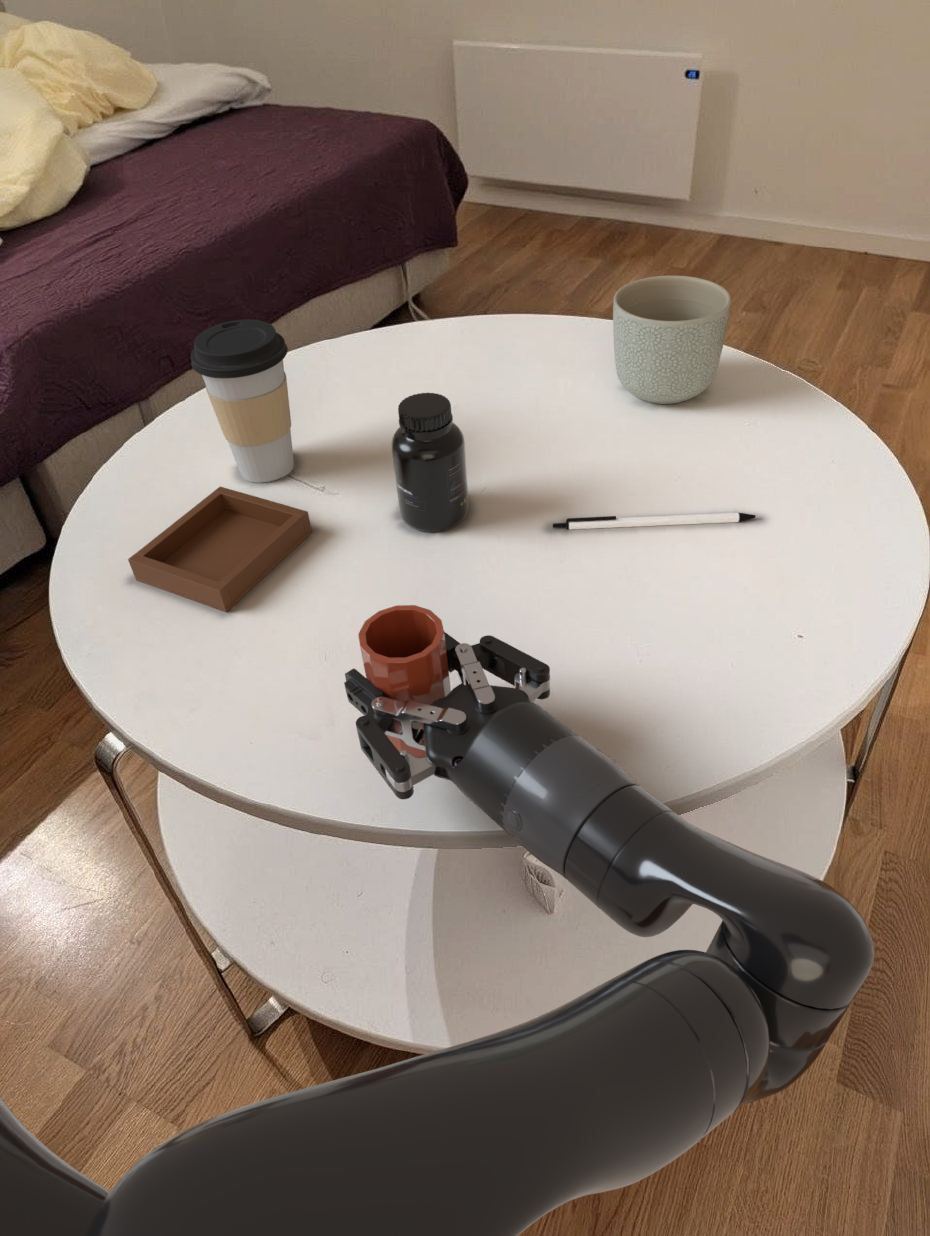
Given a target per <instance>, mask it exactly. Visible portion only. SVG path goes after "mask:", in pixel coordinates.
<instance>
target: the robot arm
mask: <svg viewBox="0 0 930 1236" xmlns="http://www.w3.org/2000/svg"><path fill="white" fill-rule="evenodd" d="M444 634H445V643H446V652H447V661H448V670H449V674H450V673H452V672H454V671H456V673H457V676H458V678H459V681H460V683H459V684H457V685H456V686H455V687H453V688H452V689H451V692H450V693H449V694H448V695H447V696H446V697H443V698H441V699H438V700H436V701H434V702H433V703H431V704H430V705H429V704H425V703H422V702H418V701H414V700H408V701H407V702H406V703H404V702H400V701H397V700H393V699H390V698H386V697H384V694H383V692H382V691H381V690H379V689H378V688H377V687H376V686H374V685H373V684H372V683H371V682H370V681H369V680H368V679H366V676H364V675H363V674H362V673H361V672H360V671H359V670H357V669H356V668H354V667H353V668H352V669H350V670H349V671H347V672H345V673H344V677H345V680H346V681H344V682H343V685H344V689H345V693H346V697H347V700H348V703H350V704H351V705H352V706H353V707H354V708H355V709H357V710H358V711H359V712H360V714H362V716H359V717H358V718H357V719H356V721H355V728H356V731H357V732H356V733H357V736H358V741H359V745H360V750H361V751H362V753H364V755H365V756H366V758H367V759H368V760H369V761H370V763H371V764H372V766H373V768H374V769H375V770H376V771H377V772H378V773H379V775H380V776H381V778H382V779H383V780H384V781H385V783H386V785H387V786H388V788H389V789H390V790H391V791H392V792H393V794H394V795H395V796H396V798H398V799H399V800H408V799H410V798H411V797H412V796H413V795H414V793H415V790H414V786H415V785H417V784H419V783H420V782H423V781H424V780H426V779H428V778H430V777H431V776H435V777H437V778H440V779H444V780H446V781H449V782H452V783H453V785H455V786H456V787H457V789H459V791H460V792H461V793H462V794H463V795H464V796H465V797H466V798H467V799H469V800H470V802H472V803H473V804H474V805H475V806H476V807H477V808H479V809H480V810H481V811H482V812H483V813H484V814H485V815H487V816H488V817H489V818H490V819H491V820H492V821H493V822H495V823H496V824H497V825H498V826H499V827H500V828H501V829H502V830H503V831H505V832H506V833H507V834H508V835H509V836H511V838H513V839H514V840H515V841H516V842H517V843H518V844H520V845H521V847H523V848H524V850H526V851H527V852H528V853H530V854H531V855H532V856H533V857H535V858H536V859H537V860H538V861H539V862H540V863H542V864H544V865H546V866H547V868H549V869H551V870H552V871H554V872H556V873H557V874H559V875H560V876H561V877H563V878H564V879H565V880H566V881H568V882H569V883H570V884H571V885H572V886H573V887H574V888H576V889H577V890H578V891H579V892H580V893H581V894H582V895H583V896H585V897H586V899H588V900H589V901H590V902H591V903H592V904H594V905H595V907H597V908H598V909H600V910H601V912H603V913H604V914H605V915H606V916H608V918H609V919H610V920H612V921H613V922H615V923H616V924H617V925H618V926H619V927H621V928H622V929H623V930H625V931H626V932H628V933H630V934H632V935H634V936H637V937H640V938H651V937H655V936H657V935H658V936H659V935H660V934H662V933H664V932H665V931H667V930H669V928H671V927H672V926H673V925H675V923H676V922H678V921H679V920H680V919H681V918H682V917H683V916H684V915H685V914H686V913H687V911H688V910H689V909H690V908H691V907H692V906H693V905H696V906H698V907H702V908H704V909H707V910H709V911H711V912H713V913H714V914H716V915H717V916H718V917H719V918H720V920H721V922H720V924H719V926H718V928H717V930H716V932H715V934H714V936H713V938H712V940H711V941H710V944H709V946H708V947H707V949H706V951H702V950H697V949H677V950H670V951H668V952H667V951H666V952H663V953H661V954H658V955H656V956H654V957H651V958H649V959H647V960H644V961H643V962H641V963H639V964H637V965H635V966H633V967H631V968H629V969H628V970H626V971H623V972H622V973H620V974H618V975H616V976H613V978H611V979H608V980H607V981H605V982H603V983H602V984H599V985H597V986H595V987H593V988H591V989H590V990H588V991H587V992H585V993H583V994H581V995H579V996H578V997H575V998H574V999H572V1000H570V1001H568V1002H566V1003H564V1004H562V1005H561V1006H558V1007H557V1008H554V1009H552V1010H550V1011H548V1012H546V1013H543V1014H541V1015H539V1016H537V1017H534V1018H532V1019H530V1020H528V1021H525V1022H523V1023H519V1024H516V1025H515V1026H511V1027H509V1028H505V1029H503V1030H500V1031H497V1032H495V1033H491V1034H488V1035H485V1036H482V1037H478V1038H475V1039H472V1040H469V1041H466V1042H463V1043H458V1044H456V1045H452V1046H449V1047H446V1048H441V1049H438V1050H435V1051H431V1052H429V1053H425V1054H422V1055H421V1054H420V1055H417V1056H414V1057H412V1058H411V1057H410V1058H408V1059H404V1060H402V1061H397V1062H395V1063H392V1064H388V1065H385V1066H382V1067H378V1068H375V1069H371V1070H367V1071H364V1072H363V1071H362V1072H360V1073H357V1074H353V1075H349V1076H345V1077H342V1078H341V1077H340V1078H338V1079H334V1080H331V1081H327V1082H323V1083H319V1084H315V1085H312V1086H311V1085H310V1086H307V1087H304V1088H301V1089H297V1090H293V1091H289V1092H286V1093H283V1094H282V1093H281V1094H280V1095H276V1096H273V1097H272V1096H271V1097H269V1098H266V1099H263V1100H260V1101H257V1102H252V1103H250V1104H247V1105H244V1106H241V1107H238V1108H235V1109H232V1110H229V1111H227V1112H224V1113H221V1114H218V1115H215V1116H213V1117H211V1118H208V1119H206V1120H204V1121H201V1122H198V1123H196V1124H193V1125H192V1126H189V1127H188V1128H186V1129H184V1130H182V1131H180V1132H178V1133H175V1134H174V1135H172V1136H170V1137H168V1138H167V1139H165V1140H163V1142H161V1143H160V1144H158V1145H157V1146H155V1147H153V1149H151V1150H149V1151H148V1152H147V1153H145V1154H143V1156H141V1157H140V1158H139V1159H137V1160H136V1161H135V1163H134V1164H132V1166H130V1168H129V1169H128V1170H127V1171H126V1172H125V1173H124V1174H123V1176H122V1177H121V1178H120V1179H119V1180H118V1181H117V1182H116V1183H115V1184H114V1185H113V1186H112V1188H111V1189H110V1190H109V1189H107V1188H106V1187H105V1186H103V1185H101V1184H100V1183H98V1182H96V1181H95V1180H94V1179H92V1178H90V1177H88V1176H87V1175H86V1174H83V1173H82V1172H81V1171H79V1170H77V1169H76V1168H74V1167H73V1166H72V1165H70V1164H69V1163H68V1162H66V1161H65V1160H63V1159H62V1158H61V1157H60V1156H59V1155H57V1154H56V1153H55V1152H53V1151H52V1150H50V1148H48V1147H47V1146H46V1145H45V1144H44V1143H43V1142H41V1141H40V1139H38V1138H37V1137H36V1136H35V1135H34V1134H33V1133H32V1132H31V1131H29V1130H28V1128H27V1127H26V1126H25V1125H24V1124H23V1122H22V1121H20V1119H19V1118H18V1117H17V1116H16V1115H15V1113H14V1112H13V1111H12V1110H11V1109H10V1108H9V1106H8V1105H7V1104H6V1102H5V1101H4V1100H3V1098H2V1097H1V1096H0V1236H520V1235H521V1234H522V1233H524V1231H526V1230H527V1229H528V1228H529V1227H531V1226H532V1225H533V1224H535V1223H536V1222H537V1221H539V1219H541V1218H542V1217H544V1216H545V1215H547V1214H549V1213H550V1212H552V1211H553V1210H555V1209H557V1208H559V1207H560V1206H562V1205H564V1204H567V1203H568V1202H571V1201H573V1200H576V1199H579V1198H582V1197H585V1196H591V1195H595V1194H596V1195H597V1194H601V1193H606V1192H610V1191H614V1190H619V1189H622V1188H625V1187H629V1186H631V1185H633V1184H636V1183H638V1182H640V1181H642V1180H644V1179H646V1178H649V1177H650V1176H652V1175H654V1174H655V1173H657V1172H658V1171H660V1170H662V1169H663V1168H665V1167H666V1166H668V1165H670V1164H671V1163H673V1162H674V1161H675V1160H677V1159H679V1157H681V1156H682V1155H684V1154H686V1152H688V1151H689V1150H690V1149H692V1148H693V1146H695V1145H696V1144H698V1143H699V1142H700V1141H701V1140H703V1139H704V1137H706V1136H707V1135H708V1134H709V1133H711V1132H712V1131H713V1130H714V1129H716V1128H717V1127H718V1126H719V1125H721V1123H723V1122H724V1121H725V1120H727V1119H728V1118H729V1117H730V1116H731V1115H733V1114H734V1113H735V1112H736V1111H737V1110H738V1109H740V1107H742V1105H748V1104H751V1103H755V1102H758V1101H760V1100H763V1099H766V1098H768V1097H771V1096H773V1095H776V1094H778V1093H780V1092H782V1091H784V1090H786V1089H787V1088H789V1087H790V1086H791V1085H793V1084H794V1083H795V1082H796V1081H797V1080H798V1079H800V1077H802V1075H804V1074H805V1072H807V1070H808V1069H809V1068H810V1067H811V1066H812V1065H813V1064H814V1063H815V1061H816V1060H817V1059H818V1057H819V1056H820V1054H821V1053H822V1051H823V1050H824V1049H825V1047H826V1045H827V1043H828V1042H829V1040H830V1038H831V1036H832V1035H833V1033H834V1032H835V1030H836V1028H837V1027H838V1025H839V1023H840V1022H841V1020H842V1019H843V1017H844V1015H845V1014H846V1012H847V1011H848V1009H849V1008H850V1006H851V1004H852V1002H853V1001H854V1000H855V998H856V997H857V995H858V994H859V992H860V990H861V988H862V987H863V985H864V983H865V981H866V980H867V978H868V977H869V975H870V973H871V970H872V967H873V965H874V962H875V944H874V941H873V937H872V933H871V931H870V929H869V927H868V925H867V923H866V922H865V920H864V918H863V917H862V915H861V913H860V911H858V909H856V908H857V907H855V906H854V905H853V904H852V903H851V901H850V900H849V899H848V898H847V896H846V897H845V896H844V895H843V893H841V892H840V891H838V890H837V889H836V888H834V887H833V886H832V885H830V884H828V883H827V882H825V881H823V880H822V879H820V878H818V877H816V876H813V875H811V874H809V873H806V872H804V871H802V870H800V869H797V868H794V867H792V866H789V865H786V864H783V863H781V862H779V861H775V860H773V859H770V858H767V857H765V856H762V855H760V854H757V853H755V852H752V851H750V850H748V849H746V848H743V847H741V846H739V845H736V844H734V843H733V842H730V841H727V840H725V839H723V838H721V837H719V836H717V835H714V834H711V833H710V832H708V831H705V830H703V829H701V828H699V827H697V826H695V825H693V824H691V823H689V822H688V821H687V820H685V819H684V818H683V817H682V816H680V815H679V814H678V813H676V812H675V811H674V810H672V809H671V808H670V807H669V806H667V805H666V804H665V803H663V802H662V801H660V800H659V799H658V798H656V797H655V796H654V795H653V794H651V793H649V791H647V790H646V789H645V788H643V787H641V785H639V784H638V783H637V782H636V781H634V780H633V779H632V778H631V776H629V775H628V774H627V773H626V771H624V770H623V768H622V767H620V766H619V765H618V764H617V763H616V762H615V761H614V760H612V759H611V758H610V757H609V756H607V755H606V754H605V753H603V752H602V751H601V750H600V749H599V748H597V747H595V746H594V745H593V744H591V743H590V742H589V741H587V740H585V738H583V737H581V736H580V735H579V734H577V732H575V731H573V730H572V729H571V728H570V727H568V726H567V725H566V724H564V723H563V722H561V720H559V719H558V718H556V717H554V715H552V714H550V713H549V712H548V711H547V710H546V709H545V708H543V707H541V706H540V705H538V704H537V703H535V702H536V700H545V699H548V698H549V697H550V695H551V668H550V665H548V664H547V663H545V662H543V661H541V660H539V659H537V658H535V657H533V656H531V655H530V654H528V653H526V652H524V651H523V650H520V649H518V648H516V647H514V646H512V645H510V644H509V643H507V642H505V641H503V640H501V639H500V638H497V637H496V636H494V635H489V634H488V635H483V636H481V637H480V639H479V642H478V643H475V644H472V645H471V644H469V643H465V642H462V643H461V642H460V641H458V640H457V639H455V638H454V637H453V636H451V635H450V634H449V633H447V632H445V631H444ZM485 671H486V672H487V673H490V674H492V675H493V676H495V677H497V678H499V679H501V680H502V681H504V682H506V683H507V684H510V685H511V686H514V687H509V686H499V685H491V684H490V683H489V681H488V678H487V675H486V674H485ZM420 722H422V723H423V727H424V730H423V729H422V728H421V725H420ZM386 735H389V736H392V737H396V738H399V739H402V740H403V741H404V742H405V743H406V744H407V745H408V746H411V747H414V748H417V749H421V750H424V751H425V753H426V756H425V757H423V758H417V757H414V756H413V755H412V754H410V753H407V751H406V750H401V751H400V752H399V751H398V750H397V748H396V747H395V746H394V745H393V743H392V742H391V741H390V740H389V738H388V737H387V736H386Z"/></svg>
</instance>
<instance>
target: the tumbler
mask: <svg viewBox="0 0 930 1236" xmlns="http://www.w3.org/2000/svg"><path fill="white" fill-rule="evenodd" d="M444 632H445V629H444V625H443V621H442V619H441V618H440V617H439V616H438V615H436V613H434V612H433V611H432V610H431V609H429V608H425V607H422V606H419V605H417V604H416V605H414V604H404V605H403V604H401V605H400V604H399V605H397V604H396V605H393V606H390V607H387V608H384V609H382V610H379V611H377V612H375V613H374V614H373V615H371V616H370V617H368V618H367V619H366V620H365V621H364V622H363V624H362V626H361V627H360V630H359V632H358V641H359V649H360V653H361V659H362V663H363V669H364V674H365V678H366V679H368V680H369V681H370V682H371V683H372V684H373V685H374V686H376V687H377V688H378V689H379V690H381V691H382V692H383V694H384V697H386V698H390V699H393V700H397V701H400V702H404V703H406V702H407V701H408V700H414V701H418V702H422V703H425V704H429V705H430V704H431V703H433V702H434V701H436V700H438V699H441V698H443V697H446V696H447V695H448V694H449V693H450V692H451V691H452V688H451V681H450V679H451V678H450V672H449V670H448V661H447V652H446V643H445V634H444ZM420 725H421V728H422V729H423V730H424V727H423V723H422V722H420ZM386 736H387V737H388V738H389V740H390V741H391V742H392V743H393V745H394V746H395V747H396V748H397V750H398V751H399V752H400V751H401V750H406V751H407V753H410V754H412V755H413V756H414V757H417V758H423V757H425V756H426V753H425V751H424V750H421V749H417V748H414V747H411V746H408V745H407V744H406V743H405V742H404V741H403V740H402V739H399V738H396V737H392V736H389V735H386Z"/></svg>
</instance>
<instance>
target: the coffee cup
mask: <svg viewBox="0 0 930 1236" xmlns="http://www.w3.org/2000/svg"><path fill="white" fill-rule="evenodd" d="M193 343H194V345H193V346H194V347H193V349H192V350H191V353H190V361H191V363H190V365H191V368H192V370H193V371H194V372H196V373H197V374H199V375H201V376H202V379H203V381H204V384H205V390H206V393H207V397H208V399H209V401H210V403H211V406H212V409H213V411H214V414H215V417H216V419H217V422H218V425H219V426H220V429H221V431H222V434H223V436H224V438H225V440H226V441H227V444H228V445H229V448H230V450H231V453H232V456H233V458H234V461H235V464H236V465H237V468H238V470H239V473H240V476H241V477H242V478H243V480H245V481H247V482H251V483H257V484H264V483H270V482H274V481H277V480H281V479H282V478H285V477H286V476H288V475H289V474H290V473H291V472H292V471H293V469H294V466H295V460H294V452H293V440H292V432H291V428H292V418H291V417H292V416H291V408H290V398H289V390H288V389H289V388H288V381H287V374H286V371H285V367H284V366H285V365H284V359H285V358H286V356H287V355H288V349H289V347H288V345H287V344H286V341H285V338H284V337H283V336H282V334H280V333H278V332H277V331H276V328H275V327H274V325H272V324H270V323H269V322H267V321H263V320H259V319H236V320H229V321H225V322H221V323H218V324H216V325H212V326H210V327H208V328H206V329H204V330H203V331H202V332H200V333H199V334H198V335H197V336H196V337H195V338H194V341H193Z"/></svg>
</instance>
